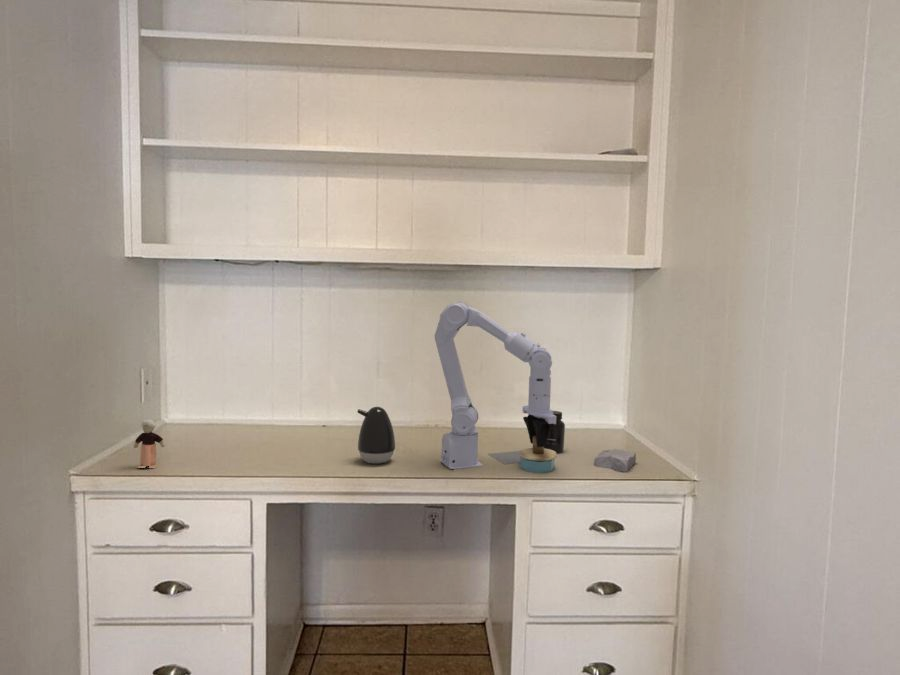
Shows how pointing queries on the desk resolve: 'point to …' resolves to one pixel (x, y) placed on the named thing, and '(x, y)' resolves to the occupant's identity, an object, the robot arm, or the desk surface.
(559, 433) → the supplement bottle
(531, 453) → the lid
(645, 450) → the desk surface
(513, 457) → the mat
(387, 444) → the pump dispenser
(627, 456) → the stone block
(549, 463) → the bowl
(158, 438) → the grandmother figurine
